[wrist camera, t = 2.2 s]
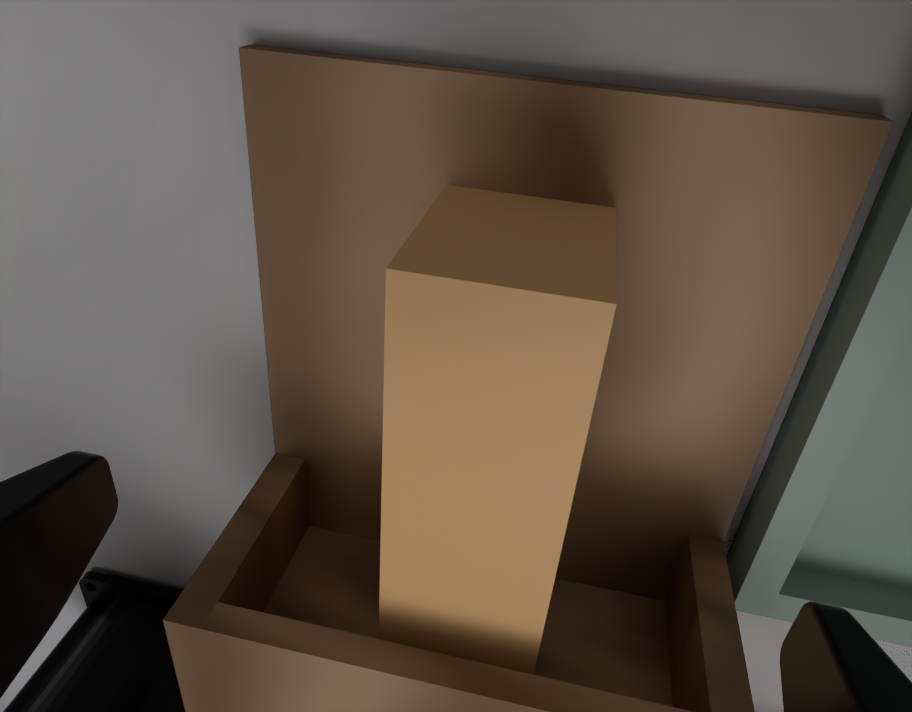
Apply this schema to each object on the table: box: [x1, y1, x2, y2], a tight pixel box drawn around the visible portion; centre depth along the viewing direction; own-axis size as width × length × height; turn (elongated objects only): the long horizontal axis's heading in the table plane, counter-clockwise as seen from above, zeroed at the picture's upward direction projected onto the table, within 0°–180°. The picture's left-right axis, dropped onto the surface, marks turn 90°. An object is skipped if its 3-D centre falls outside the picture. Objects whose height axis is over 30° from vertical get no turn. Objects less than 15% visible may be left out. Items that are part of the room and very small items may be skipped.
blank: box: [379, 185, 617, 675], centre depth 17 cm, size 4×12×5 cm, turn 176°
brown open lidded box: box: [163, 45, 893, 712], centre depth 16 cm, size 14×16×7 cm
